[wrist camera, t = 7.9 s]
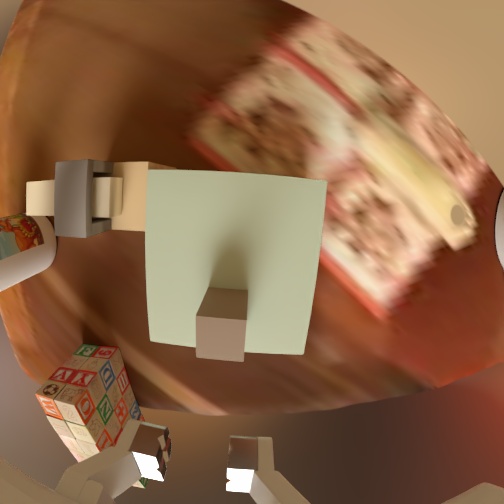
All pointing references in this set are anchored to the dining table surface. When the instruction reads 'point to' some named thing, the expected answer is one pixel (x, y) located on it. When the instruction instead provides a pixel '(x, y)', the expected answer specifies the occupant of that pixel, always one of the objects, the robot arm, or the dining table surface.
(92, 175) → the wooden cabinet
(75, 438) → the stack of blocks
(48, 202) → the wooden block
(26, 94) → the dining table surface
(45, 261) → the milk bottle
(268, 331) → the lid
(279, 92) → the dining table surface
